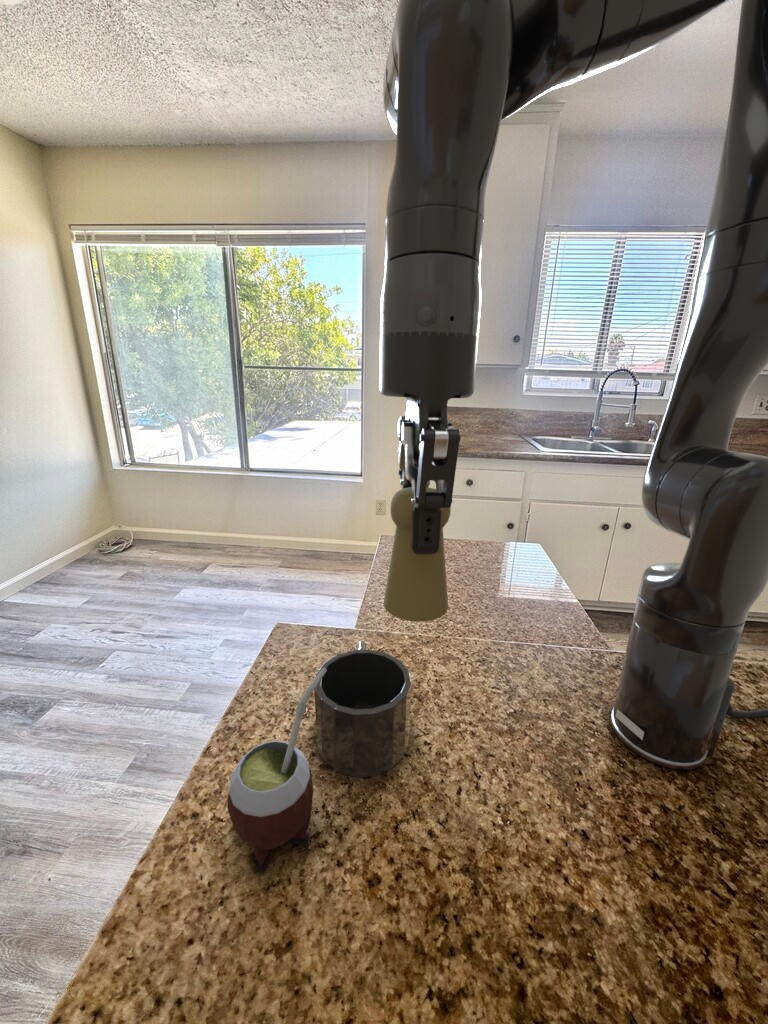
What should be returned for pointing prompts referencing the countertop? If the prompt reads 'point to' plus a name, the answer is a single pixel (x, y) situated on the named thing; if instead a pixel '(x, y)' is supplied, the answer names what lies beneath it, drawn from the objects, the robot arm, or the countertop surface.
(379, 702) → the mug
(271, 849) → the mate gourd
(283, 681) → the countertop surface
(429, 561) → the beige pawn figure
